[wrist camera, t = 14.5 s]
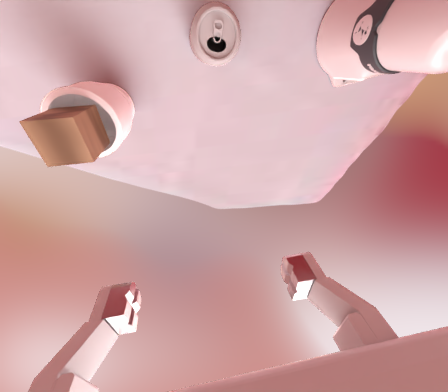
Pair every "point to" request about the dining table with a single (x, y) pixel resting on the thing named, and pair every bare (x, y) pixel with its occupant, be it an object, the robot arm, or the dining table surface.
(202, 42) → the can
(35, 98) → the dining table surface
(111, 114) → the jar
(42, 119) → the walnut block
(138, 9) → the dining table surface
